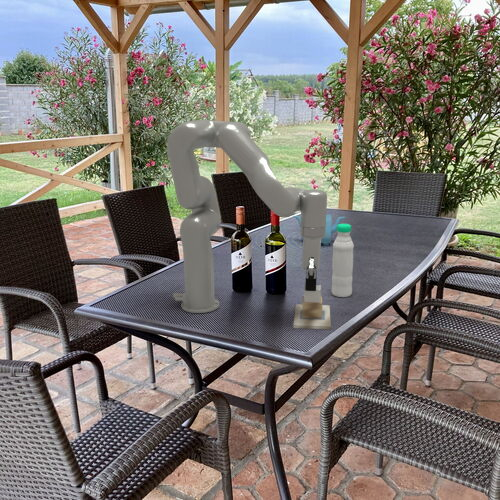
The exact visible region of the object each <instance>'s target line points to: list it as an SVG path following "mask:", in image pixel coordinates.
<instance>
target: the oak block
mask: <svg viewBox="0 0 500 500" xmlns="http://www.w3.org/2000/svg"><path fill="white" fill-rule="evenodd" d="M322 305H323V296H322V295H321V303H312V302H304V295H303V296H302V318H314V319H322Z"/></svg>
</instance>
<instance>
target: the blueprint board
mask: <svg viewBox="0 0 500 500" xmlns="http://www.w3.org/2000/svg"><path fill="white" fill-rule="evenodd" d="M294 308H295V309H294V316H293V318H294V319H293V329H307V330H309V329H310V330H327V331H328V330H332V326H331V325H332V324H331V322H332V321H331V305H330V304H329V305H328V304H322V319H314V318H302V304H301V303H296V304H295V307H294Z"/></svg>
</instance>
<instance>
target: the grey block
mask: <svg viewBox="0 0 500 500" xmlns="http://www.w3.org/2000/svg"><path fill="white" fill-rule="evenodd" d="M303 291H304V293H303V296H304V302H312V303H321V296H322V285H321V284H316V291H306V290H305V287H304V289H303Z"/></svg>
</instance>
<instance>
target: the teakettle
mask: <svg viewBox="0 0 500 500" xmlns="http://www.w3.org/2000/svg"><path fill="white" fill-rule="evenodd" d="M292 217H293V218H294V219H296V220H297V221H298V224H299V228H300V229H301V216H298V215H293V216H292ZM345 218H346V216H339V217H337V219H336V220H335V223H334V224H333V225H332V219H333V218H332V214H326V233H325V237H324V238H321V245H322V246H325V247H326V246H327V247H328V246H329V244H331V243H332V235H333V234H334V233H335V232H337V225H339V224H340V223H341V220H343V219H345Z"/></svg>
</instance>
